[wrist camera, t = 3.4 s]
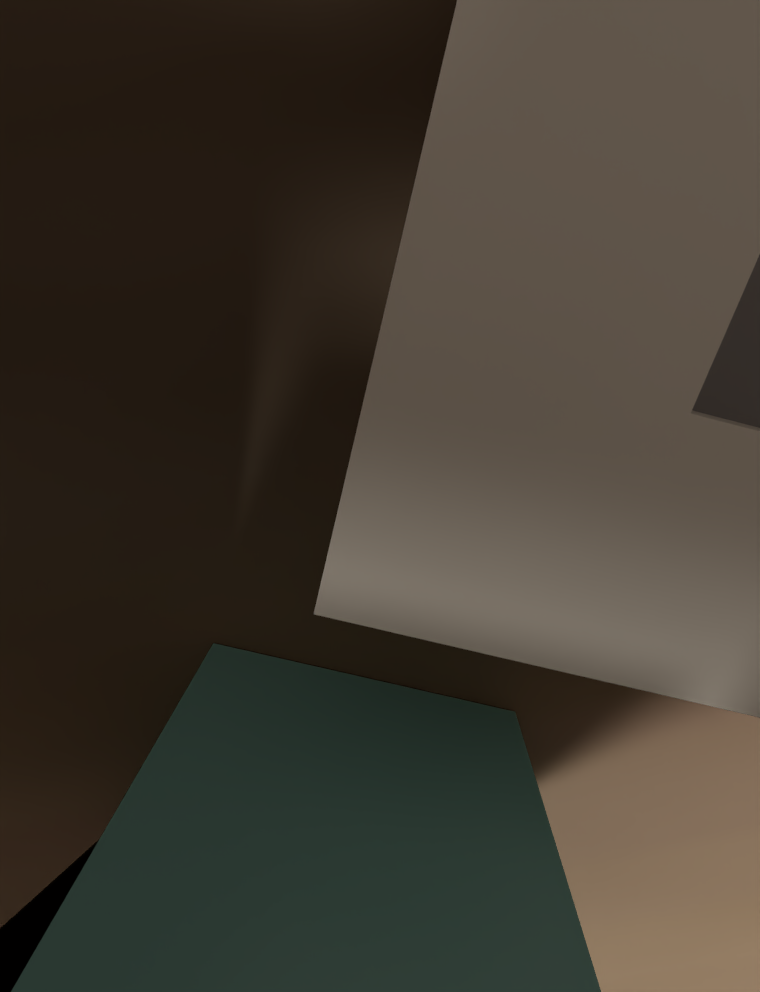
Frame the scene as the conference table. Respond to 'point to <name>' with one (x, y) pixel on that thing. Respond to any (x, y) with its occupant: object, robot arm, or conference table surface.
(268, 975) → the plug
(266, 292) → the conference table surface
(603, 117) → the socket plate
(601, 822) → the conference table surface
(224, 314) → the conference table surface
